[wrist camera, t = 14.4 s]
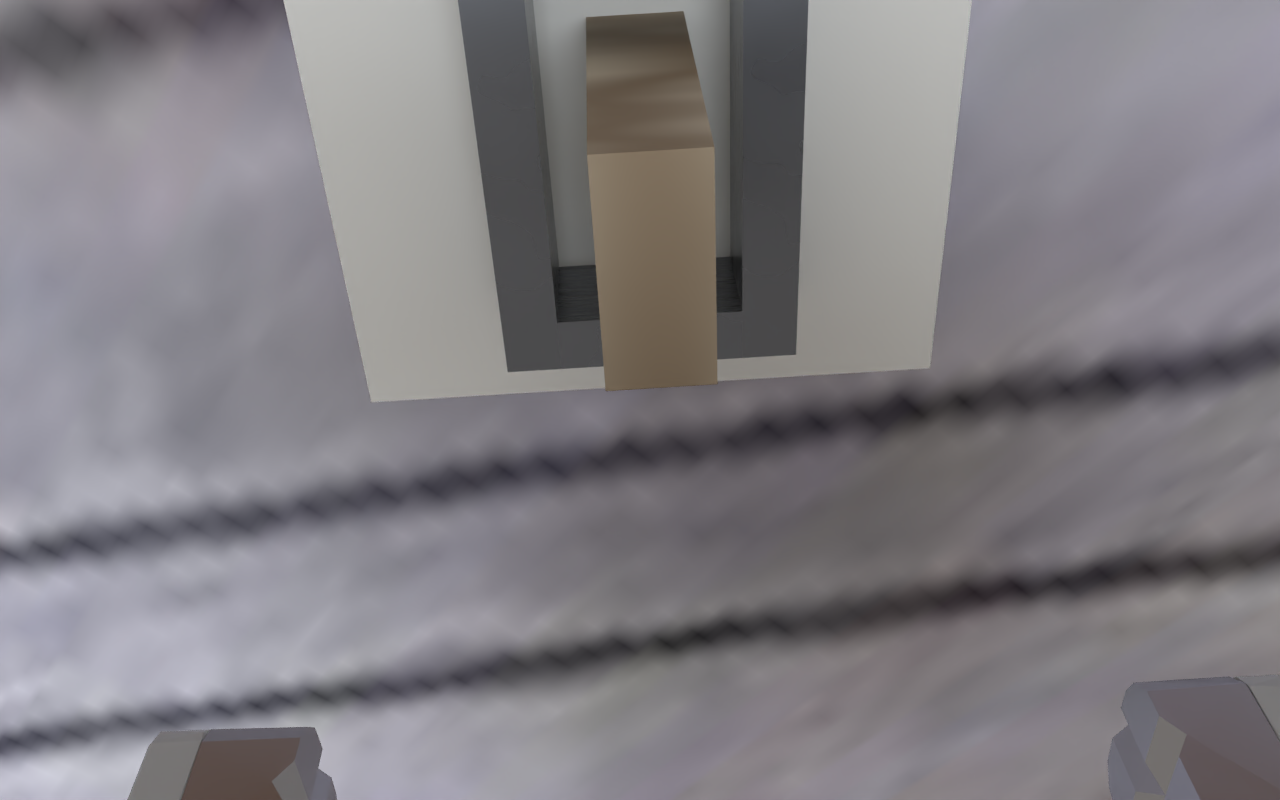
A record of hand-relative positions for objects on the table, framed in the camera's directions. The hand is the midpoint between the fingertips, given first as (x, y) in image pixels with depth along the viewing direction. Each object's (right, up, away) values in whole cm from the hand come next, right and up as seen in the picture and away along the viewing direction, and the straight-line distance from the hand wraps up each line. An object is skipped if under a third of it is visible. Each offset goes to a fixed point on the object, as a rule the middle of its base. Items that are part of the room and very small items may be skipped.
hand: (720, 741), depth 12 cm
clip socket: (-1, +9, +13) cm, 17 cm away
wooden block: (-1, +9, +13) cm, 17 cm away
